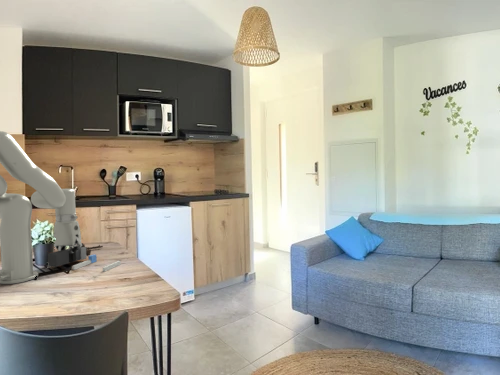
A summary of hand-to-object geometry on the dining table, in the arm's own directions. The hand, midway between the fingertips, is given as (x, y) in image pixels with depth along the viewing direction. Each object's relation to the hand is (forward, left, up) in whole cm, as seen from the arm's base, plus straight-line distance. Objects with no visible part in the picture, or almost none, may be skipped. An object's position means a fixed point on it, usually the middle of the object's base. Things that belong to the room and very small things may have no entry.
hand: (68, 261), depth 145 cm
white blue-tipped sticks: (+1, -7, -2) cm, 7 cm away
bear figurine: (+21, +10, -2) cm, 23 cm away
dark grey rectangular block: (0, 0, 0) cm, 0 cm away
